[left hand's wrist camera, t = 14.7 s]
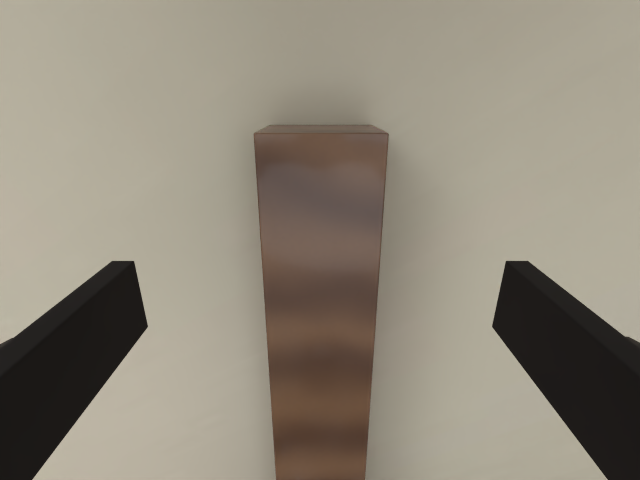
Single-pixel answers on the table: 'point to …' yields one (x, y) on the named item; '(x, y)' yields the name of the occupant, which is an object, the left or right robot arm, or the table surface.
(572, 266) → the table surface
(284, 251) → the thick board
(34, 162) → the table surface
